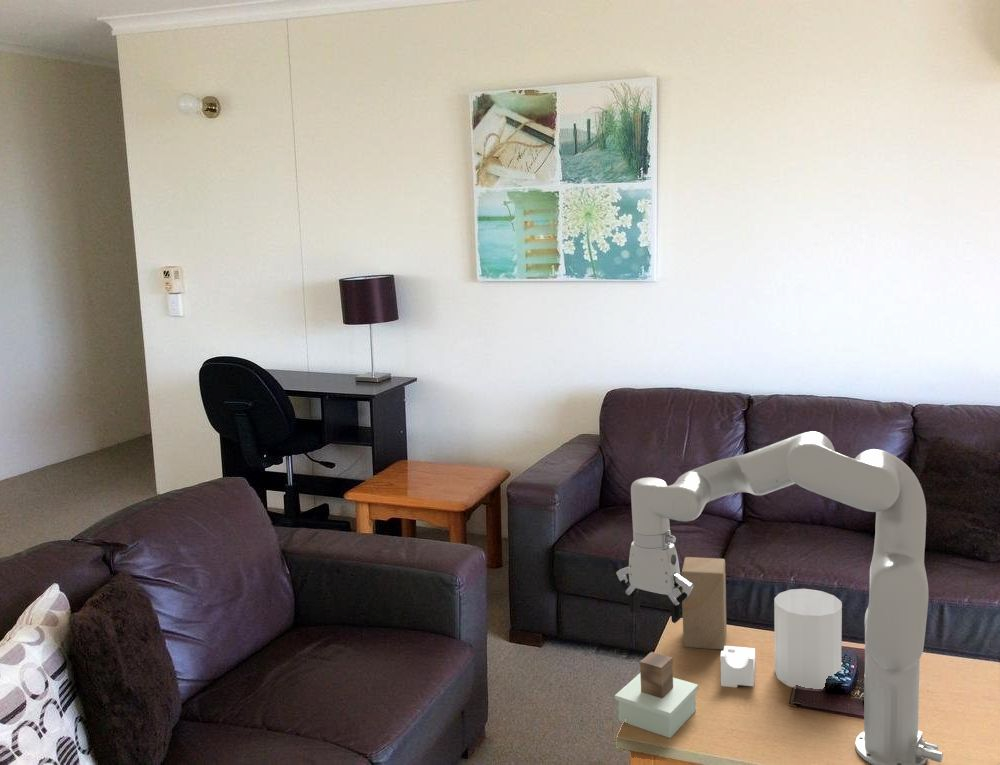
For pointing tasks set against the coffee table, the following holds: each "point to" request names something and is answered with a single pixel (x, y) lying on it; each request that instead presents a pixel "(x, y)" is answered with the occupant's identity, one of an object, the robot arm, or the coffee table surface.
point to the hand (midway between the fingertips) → (655, 615)
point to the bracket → (737, 666)
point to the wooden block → (704, 603)
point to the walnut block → (656, 675)
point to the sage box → (657, 706)
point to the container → (807, 637)
